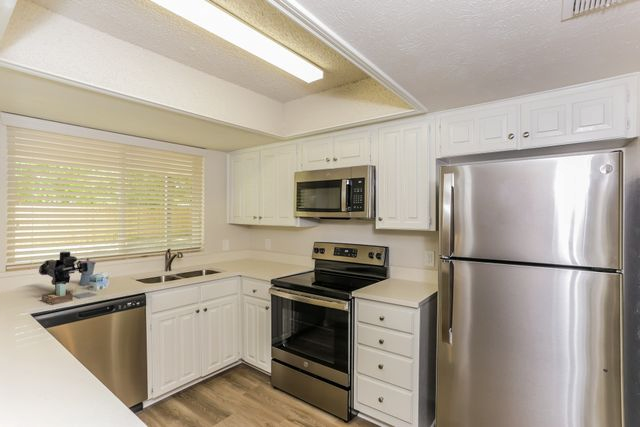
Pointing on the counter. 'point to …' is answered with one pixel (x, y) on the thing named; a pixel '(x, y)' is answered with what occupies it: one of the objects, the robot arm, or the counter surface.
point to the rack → (58, 299)
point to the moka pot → (86, 275)
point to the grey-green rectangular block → (60, 289)
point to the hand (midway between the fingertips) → (76, 272)
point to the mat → (84, 295)
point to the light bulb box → (99, 281)
